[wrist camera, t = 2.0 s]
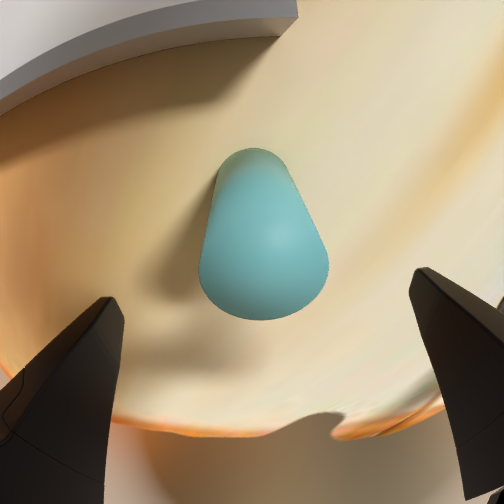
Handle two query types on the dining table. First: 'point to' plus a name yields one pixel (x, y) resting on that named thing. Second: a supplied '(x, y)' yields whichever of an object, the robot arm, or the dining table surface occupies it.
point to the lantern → (501, 307)
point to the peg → (260, 241)
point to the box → (115, 35)
